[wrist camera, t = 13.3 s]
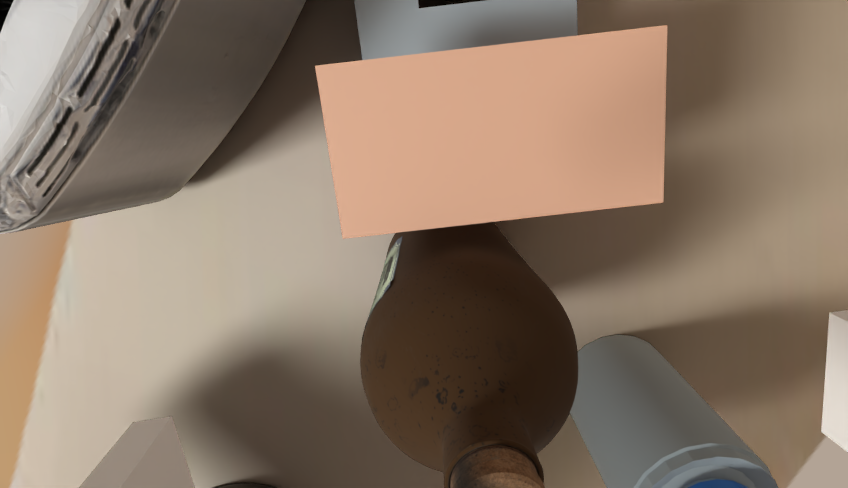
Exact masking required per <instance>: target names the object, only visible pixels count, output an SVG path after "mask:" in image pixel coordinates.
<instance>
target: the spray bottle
mask: <svg viewBox="0 0 848 488" xmlns="http://www.w3.org/2000/svg"><path fill="white" fill-rule="evenodd" d="M570 414H571V416H572V418H573V420H574V422H575V424H576V426H577V428H578V430H579V432H580V434H581V436H582V438H583V440H584V443H585V445H586V447H587V449H588V451H589V453H590V455H591V457H592V459H593V461H594V463H595V465H596V467H597V469H598V471H599V473H600V475H601V477H602V479H603V481H604V483H605V485H606V487H607V488H778V486H777V484H776V482H775V480H774V479H773V477H772V476H771V473H770V471H769V469H768V467H767V466H766V465H765V464H764V463H763V462H762V460H761V459H760V458H759V457H758V456H757V455H756V454H755V453H754V452H753V451H752V450H751V449H750V448H749V447H748V446H747V445H746V444H745V443H744V442H743V440H742V439H741V438H740V437H739V436H738V435H737V434H736V433H735V432H734V431H733V430H732V429H731V428H730V427H729V426H728V425H727V424H726V423H725V421H724V420H723V419H722V418H721V417H720V416H719V415H718V414H717V413H716V412H715V411H714V410H713V409H712V408H711V407H710V406H709V405H708V404H707V402H706V401H705V400H704V399H703V398H702V397H701V396H700V395H699V394H698V393H697V392H696V391H695V390H694V389H693V388H692V387H691V386H690V385H689V383H688V382H687V381H686V380H685V379H684V378H683V377H682V376H681V375H680V374H679V373H678V372H677V371H676V370H675V369H674V368H673V367H672V366H671V364H670V363H669V362H668V361H667V360H666V359H665V358H664V357H663V356H662V355H661V354H660V353H659V352H658V351H657V350H656V349H655V348H654V347H653V346H652V345H651V344H650V343H649V342H646V341H644V340H642V339H639V338H637V337H635V336H627V335H612V336H607V337H602V338H599V339H597V340H595V341H593V342H591V343H589V344H587V345H585V346H584V347H583V348H582V349H581V350H579V351H578V384H577V390H576V395H575V399H574V402H573V405H572V408H571V410H570Z"/></svg>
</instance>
